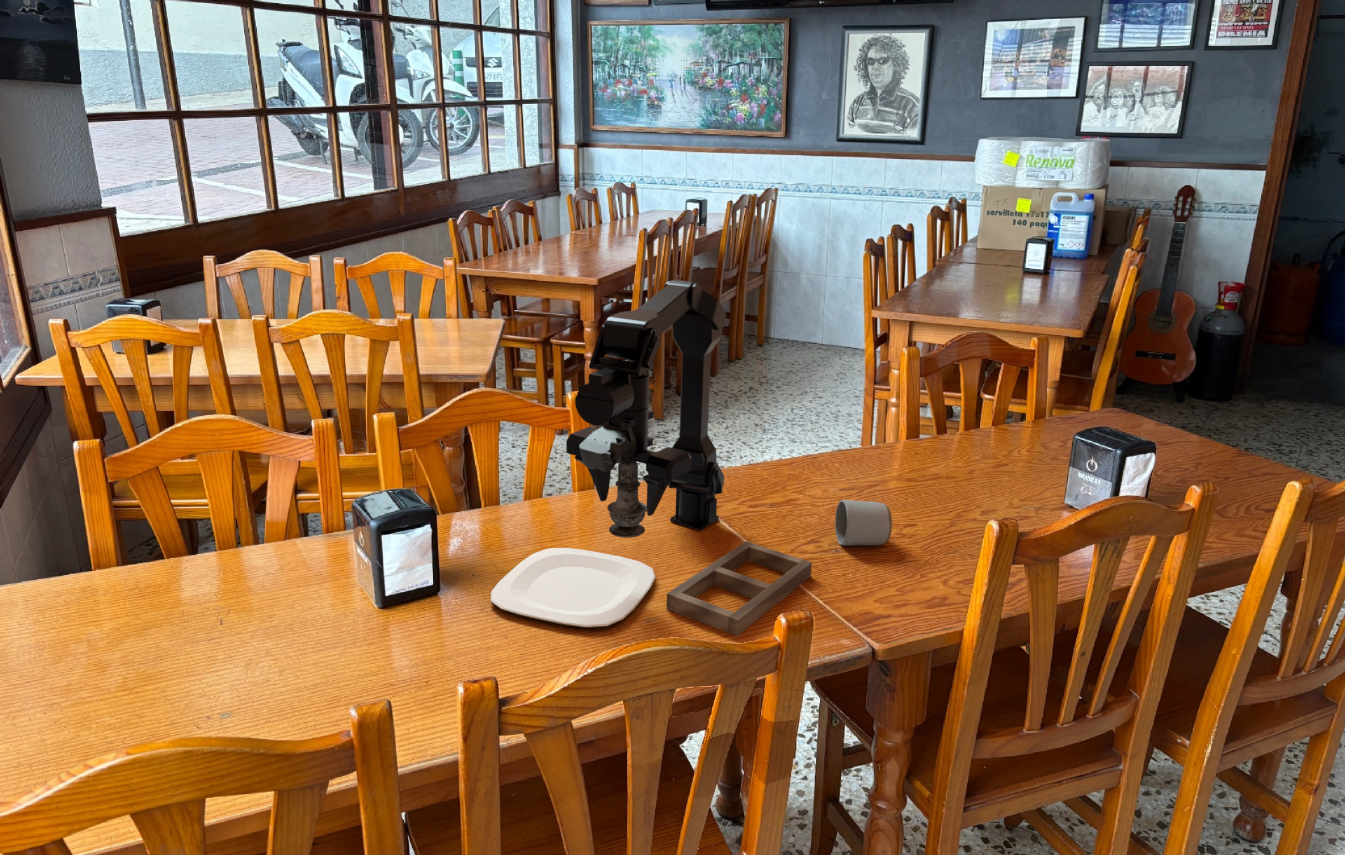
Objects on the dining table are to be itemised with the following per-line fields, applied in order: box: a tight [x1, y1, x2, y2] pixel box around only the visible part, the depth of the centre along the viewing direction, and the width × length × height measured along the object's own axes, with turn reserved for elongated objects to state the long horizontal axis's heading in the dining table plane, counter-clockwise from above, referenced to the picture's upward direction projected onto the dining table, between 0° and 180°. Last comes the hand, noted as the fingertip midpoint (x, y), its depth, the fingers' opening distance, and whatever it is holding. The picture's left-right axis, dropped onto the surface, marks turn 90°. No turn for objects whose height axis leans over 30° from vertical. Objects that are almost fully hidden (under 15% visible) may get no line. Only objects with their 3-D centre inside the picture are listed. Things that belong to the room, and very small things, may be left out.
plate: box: [490, 547, 656, 629], centre depth 137 cm, size 22×22×2 cm
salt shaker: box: [606, 460, 647, 539], centre depth 133 cm, size 6×6×12 cm
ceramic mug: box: [834, 499, 893, 546], centre depth 156 cm, size 11×8×8 cm
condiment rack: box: [665, 541, 813, 637], centre depth 138 cm, size 12×22×2 cm, turn 145°
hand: (626, 507), depth 134 cm, fingers closed on salt shaker, 8 cm apart
